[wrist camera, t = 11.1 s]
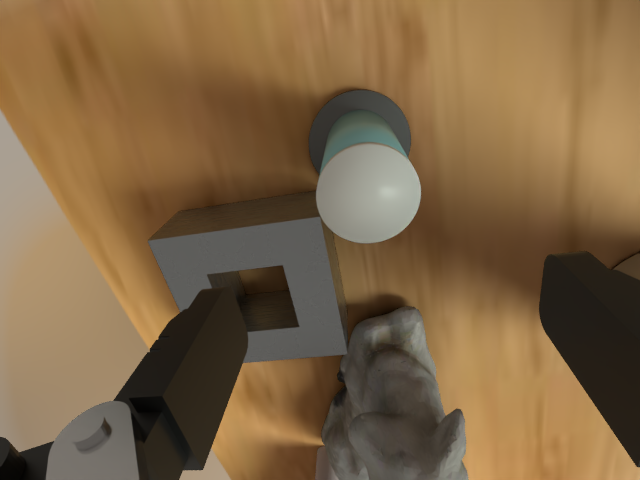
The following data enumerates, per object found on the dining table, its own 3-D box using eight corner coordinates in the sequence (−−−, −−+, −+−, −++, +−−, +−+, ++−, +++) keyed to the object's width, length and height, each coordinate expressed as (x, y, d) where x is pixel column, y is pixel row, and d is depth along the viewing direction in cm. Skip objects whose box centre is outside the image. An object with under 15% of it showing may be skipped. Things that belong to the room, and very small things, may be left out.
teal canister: (390, 103, 23) (417, 136, 14) (396, 171, 25) (423, 236, 16) (321, 116, 24) (306, 155, 15) (332, 181, 26) (325, 249, 17)
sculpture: (438, 297, 31) (506, 481, 18) (418, 444, 41) (452, 633, 28) (314, 297, 32) (290, 471, 19) (323, 441, 42) (312, 621, 29)
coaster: (405, 80, 23) (407, 81, 22) (412, 182, 26) (413, 185, 26) (300, 100, 24) (299, 101, 23) (319, 196, 27) (318, 199, 27)
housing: (324, 189, 27) (320, 216, 22) (347, 312, 32) (347, 354, 28) (178, 211, 29) (147, 240, 24) (223, 325, 34) (205, 365, 30)
